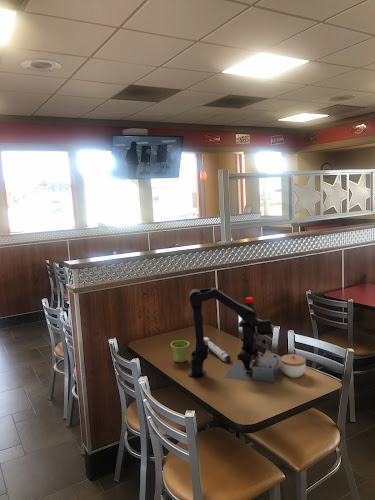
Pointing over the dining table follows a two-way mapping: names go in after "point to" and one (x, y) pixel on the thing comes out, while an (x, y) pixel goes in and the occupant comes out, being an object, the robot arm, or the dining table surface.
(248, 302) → the cola bottle
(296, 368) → the lidded jar
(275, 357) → the plate
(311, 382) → the dining table surface
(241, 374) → the mat
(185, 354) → the plant pot
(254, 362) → the silver and amber cylinder
